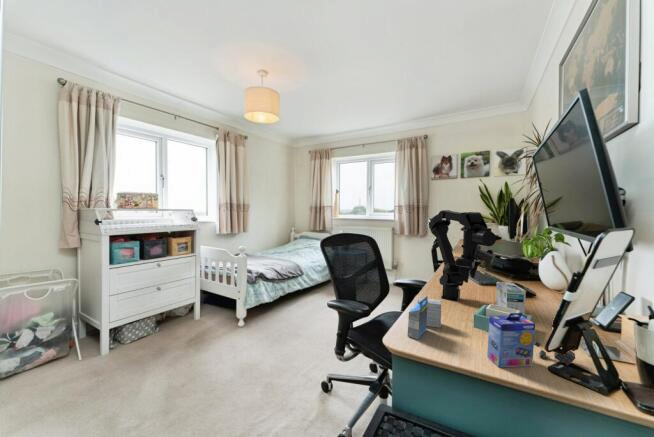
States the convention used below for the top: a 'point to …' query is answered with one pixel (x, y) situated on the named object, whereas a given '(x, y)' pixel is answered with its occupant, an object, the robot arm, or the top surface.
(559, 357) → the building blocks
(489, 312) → the small crate
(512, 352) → the ink cartridge box
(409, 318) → the label tape box
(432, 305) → the medicine box
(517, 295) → the light bulb box
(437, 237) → the robot arm
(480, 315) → the box
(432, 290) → the top surface
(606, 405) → the top surface
